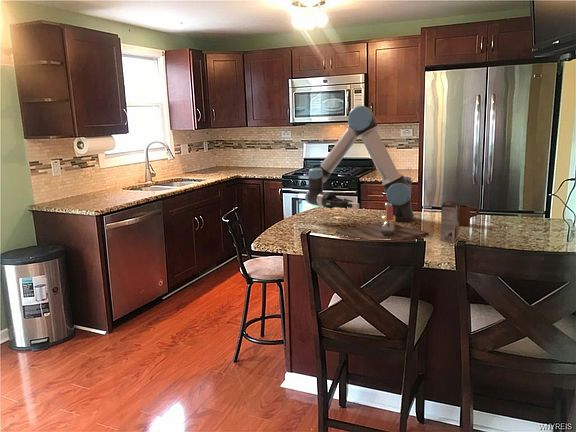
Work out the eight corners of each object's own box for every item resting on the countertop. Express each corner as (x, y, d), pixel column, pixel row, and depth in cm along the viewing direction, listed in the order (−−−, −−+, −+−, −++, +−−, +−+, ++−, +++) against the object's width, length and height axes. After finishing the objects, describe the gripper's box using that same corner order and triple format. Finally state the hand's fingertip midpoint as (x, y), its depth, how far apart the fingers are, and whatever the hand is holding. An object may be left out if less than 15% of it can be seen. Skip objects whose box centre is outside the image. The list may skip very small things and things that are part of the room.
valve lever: (384, 210, 221) (385, 201, 220) (391, 210, 220) (391, 201, 219) (386, 219, 200) (386, 209, 199) (393, 220, 199) (393, 210, 199)
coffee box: (444, 236, 213) (445, 201, 209) (458, 237, 209) (460, 202, 206) (439, 240, 205) (440, 204, 202) (454, 242, 202) (456, 205, 198)
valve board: (383, 224, 239) (383, 221, 239) (428, 235, 214) (428, 232, 214) (335, 233, 223) (335, 230, 223) (379, 246, 198) (379, 243, 198)
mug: (476, 222, 236) (477, 204, 234) (480, 226, 229) (481, 207, 227) (452, 223, 238) (452, 205, 236) (455, 226, 230) (456, 207, 228)
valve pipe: (381, 225, 233) (382, 205, 230) (395, 225, 231) (395, 205, 229) (380, 236, 211) (381, 214, 209) (395, 237, 209) (395, 214, 207)
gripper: (337, 205, 244) (368, 212, 224) (317, 209, 237) (347, 216, 217) (337, 191, 242) (368, 197, 223) (317, 194, 235) (347, 200, 216)
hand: (357, 206), depth 220 cm, fingers closed
